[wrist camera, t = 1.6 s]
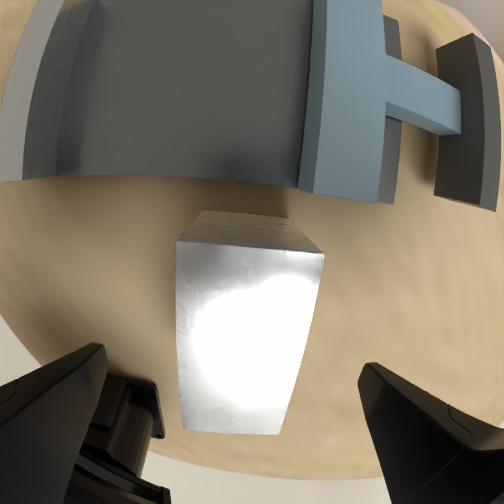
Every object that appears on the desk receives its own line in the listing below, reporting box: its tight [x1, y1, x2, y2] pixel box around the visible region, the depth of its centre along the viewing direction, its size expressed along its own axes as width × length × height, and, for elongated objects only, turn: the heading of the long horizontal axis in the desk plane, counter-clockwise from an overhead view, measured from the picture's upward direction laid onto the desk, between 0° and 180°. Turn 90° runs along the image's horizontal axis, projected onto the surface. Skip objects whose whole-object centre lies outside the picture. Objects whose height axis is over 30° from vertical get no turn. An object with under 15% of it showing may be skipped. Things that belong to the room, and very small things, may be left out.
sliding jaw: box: [298, 0, 501, 212], centre depth 8 cm, size 11×9×4 cm
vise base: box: [0, 0, 402, 205], centre depth 9 cm, size 11×20×4 cm, turn 84°
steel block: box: [175, 210, 325, 435], centre depth 11 cm, size 8×4×6 cm, turn 174°
